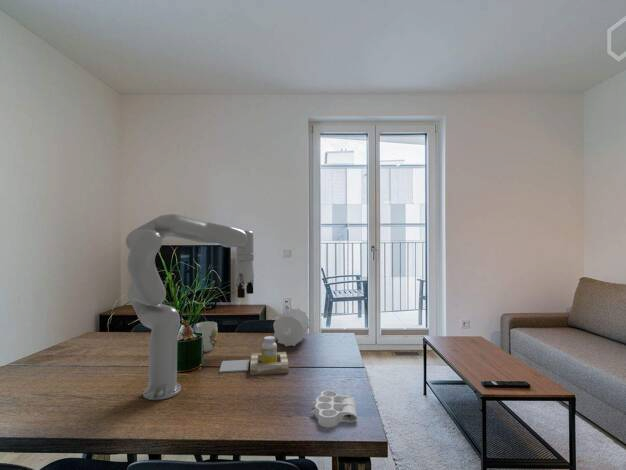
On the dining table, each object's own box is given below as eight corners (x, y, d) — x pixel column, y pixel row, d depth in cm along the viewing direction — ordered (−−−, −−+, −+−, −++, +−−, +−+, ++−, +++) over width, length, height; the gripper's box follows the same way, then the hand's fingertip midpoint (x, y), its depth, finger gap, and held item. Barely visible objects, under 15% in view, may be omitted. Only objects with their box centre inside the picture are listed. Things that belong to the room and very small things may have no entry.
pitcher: (225, 344, 176) (226, 318, 176) (207, 355, 159) (207, 327, 159) (207, 343, 179) (207, 317, 179) (187, 353, 161) (187, 325, 162)
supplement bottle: (264, 363, 149) (264, 334, 150) (278, 364, 148) (278, 335, 149) (259, 368, 143) (259, 339, 143) (274, 370, 142) (274, 340, 142)
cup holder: (288, 372, 139) (288, 364, 139) (250, 374, 136) (250, 366, 137) (286, 359, 155) (286, 351, 155) (251, 360, 152) (251, 353, 152)
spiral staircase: (302, 342, 193) (295, 355, 169) (276, 328, 196) (265, 338, 171) (316, 314, 194) (310, 323, 169) (289, 301, 196) (280, 307, 171)
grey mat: (248, 371, 140) (248, 369, 140) (219, 372, 138) (219, 371, 139) (249, 361, 152) (249, 359, 152) (222, 362, 150) (222, 360, 150)
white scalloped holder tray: (357, 430, 98) (308, 427, 99) (354, 400, 116) (312, 399, 117) (357, 418, 98) (308, 416, 99) (354, 391, 116) (312, 389, 117)
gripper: (245, 256, 158) (245, 292, 158) (228, 259, 141) (229, 299, 141) (259, 256, 157) (260, 292, 157) (245, 259, 140) (245, 299, 140)
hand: (245, 295), depth 149 cm, fingers open, 9 cm apart
